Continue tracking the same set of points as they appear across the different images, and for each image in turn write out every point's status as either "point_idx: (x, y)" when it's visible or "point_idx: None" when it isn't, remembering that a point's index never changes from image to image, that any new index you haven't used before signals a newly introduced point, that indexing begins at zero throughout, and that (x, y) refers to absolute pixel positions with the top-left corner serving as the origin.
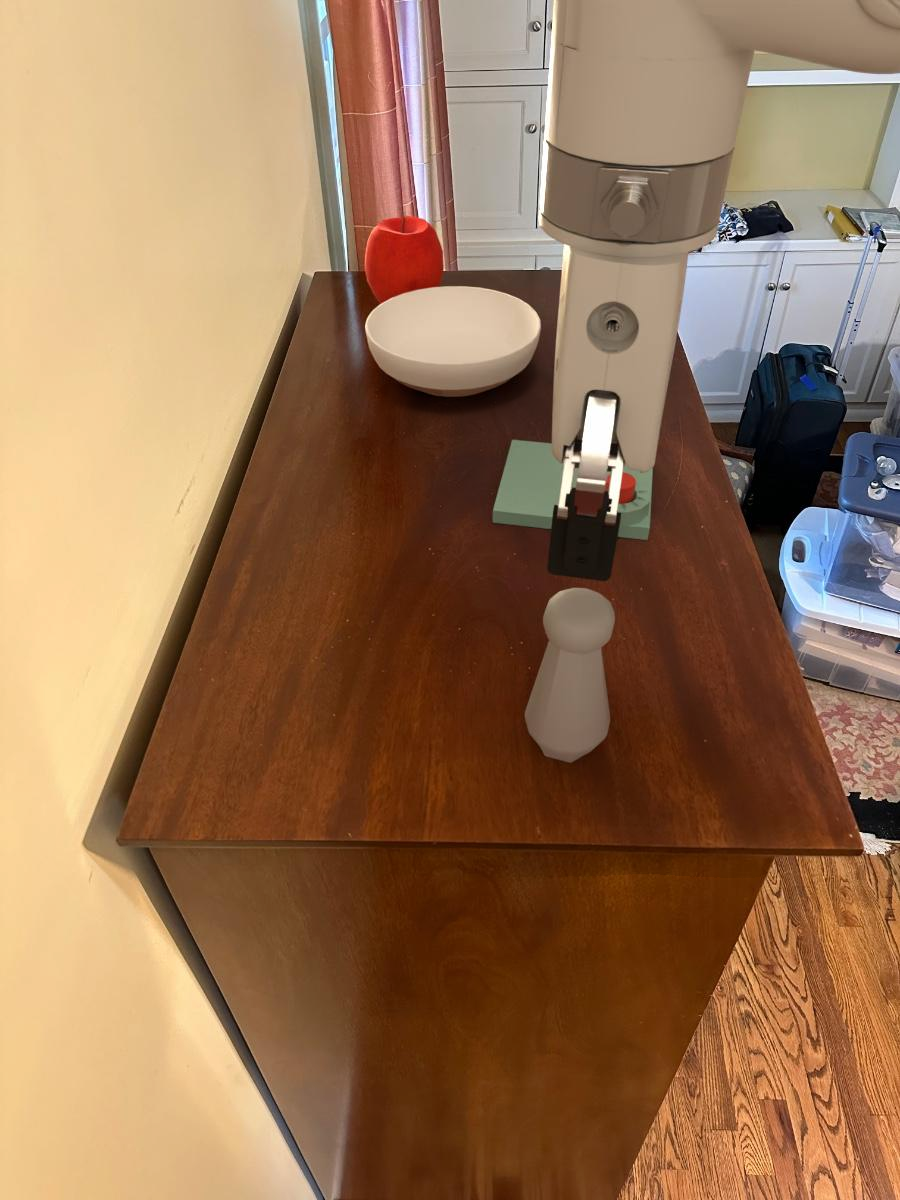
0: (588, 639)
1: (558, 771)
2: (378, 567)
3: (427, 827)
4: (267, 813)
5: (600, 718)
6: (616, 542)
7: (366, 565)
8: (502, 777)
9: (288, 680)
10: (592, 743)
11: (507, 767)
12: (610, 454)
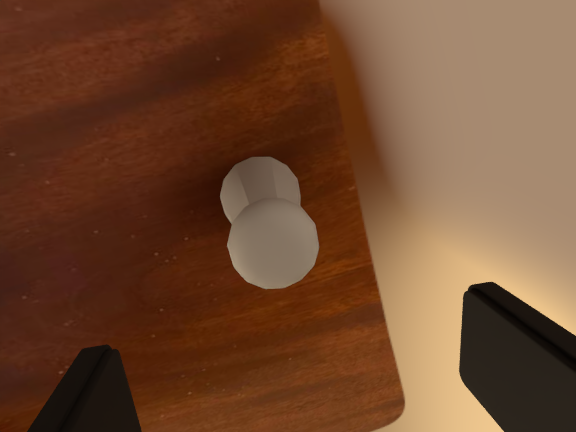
0: (315, 226)
1: None
2: None
3: (367, 263)
4: (380, 359)
5: (278, 169)
6: (569, 333)
7: None
8: None
9: (268, 400)
10: (288, 168)
11: None
12: (106, 402)
